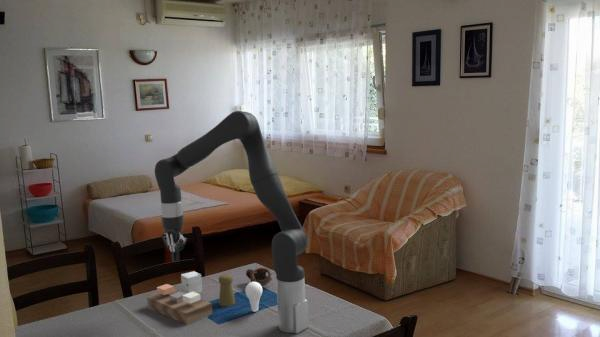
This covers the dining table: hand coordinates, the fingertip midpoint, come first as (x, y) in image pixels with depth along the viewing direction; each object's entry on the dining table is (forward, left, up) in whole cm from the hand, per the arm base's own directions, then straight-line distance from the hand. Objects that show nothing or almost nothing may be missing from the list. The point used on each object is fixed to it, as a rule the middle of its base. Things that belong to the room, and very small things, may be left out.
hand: (175, 261), depth 186 cm
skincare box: (+11, -14, -19) cm, 26 cm away
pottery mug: (-5, -35, -19) cm, 41 cm away
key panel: (0, 0, -19) cm, 19 cm away
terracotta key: (+8, 0, -14) cm, 16 cm away
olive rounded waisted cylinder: (-9, -15, -19) cm, 26 cm away
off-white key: (-8, 0, -13) cm, 15 cm away
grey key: (0, 0, -15) cm, 15 cm away
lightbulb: (-23, -16, -19) cm, 34 cm away
